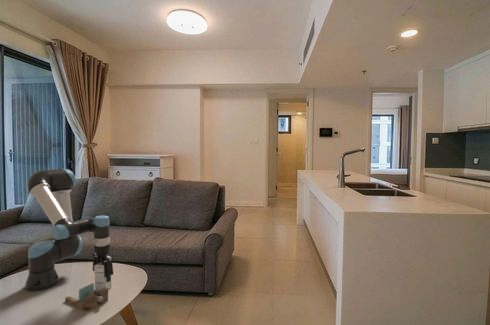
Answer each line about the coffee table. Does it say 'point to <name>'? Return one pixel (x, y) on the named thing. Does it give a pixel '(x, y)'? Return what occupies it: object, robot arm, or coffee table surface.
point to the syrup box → (100, 277)
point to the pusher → (88, 293)
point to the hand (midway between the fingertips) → (103, 285)
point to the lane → (89, 300)
